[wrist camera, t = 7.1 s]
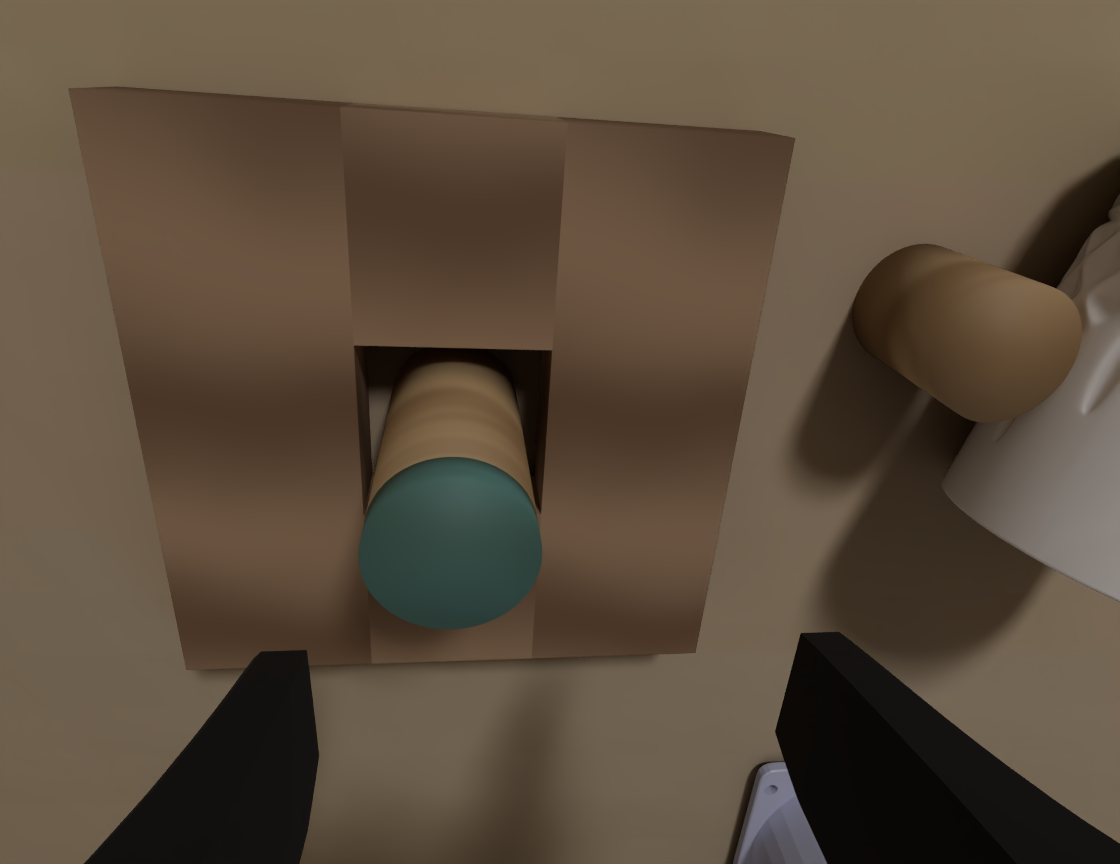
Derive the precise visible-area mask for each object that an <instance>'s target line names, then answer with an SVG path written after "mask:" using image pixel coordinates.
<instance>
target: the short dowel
mask: <svg viewBox="0 0 1120 864" xmlns="http://www.w3.org/2000/svg"><path fill="white" fill-rule="evenodd" d="M852 319H853V327H854V332H855V334H856V337H857V339H858V341H859V342H860V344H861V345H862V346H863V348H864V349H865V350H866V351H868V352H869V353H870V354H872V355H873V356H874V357H876V358H877V359H879V360H880V361H882V362H883V363H885V364H886V365H888V366H889V367H890V368H892V369H893V370H895V371H896V372H898V373H899V374H901V375H902V376H904V377H905V378H906V379H908V380H909V381H911V382H912V383H914V384H915V385H917V386H918V387H920V388H921V389H922V390H924V391H925V392H927V393H928V394H930V395H931V396H933V397H934V398H936V399H937V400H938V401H940V402H941V403H943V404H944V405H946V406H947V407H949V408H950V409H952V410H953V411H954V412H956V413H957V414H959V415H961V416H962V417H964V418H966V419H969V420H971V421H976V422H982V423H995V422H1001V421H1006V420H1009V419H1013V418H1016V417H1018V416H1020V415H1023V414H1025V413H1027V412H1028V411H1030V410H1032V409H1034V408H1035V407H1037V406H1038V405H1040V404H1041V403H1042V402H1043V401H1045V400H1046V399H1047V398H1048V397H1049V396H1050V395H1051V394H1052V393H1054V392H1055V391H1056V389H1057V388H1058V387H1059V386H1060V385H1061V384H1062V382H1063V381H1064V379H1065V378H1066V377H1067V375H1068V374H1069V372H1070V370H1071V369H1072V367H1073V365H1074V362H1075V360H1076V358H1077V355H1078V352H1079V349H1080V344H1081V339H1082V323H1081V319H1080V314H1079V312H1078V310H1077V307H1076V306H1075V304H1074V303H1073V301H1072V300H1071V299H1070V298H1069V297H1068V296H1067V295H1066V294H1065V293H1063V292H1062V291H1060V290H1058V289H1056V288H1054V287H1051V286H1048V285H1046V284H1043V283H1040V282H1037V281H1035V280H1032V279H1029V278H1026V277H1024V276H1021V275H1018V274H1015V273H1013V272H1010V271H1007V270H1004V269H1002V268H999V267H996V266H993V265H991V264H988V263H985V262H982V261H980V260H977V259H974V258H971V257H968V256H966V255H963V254H960V253H957V252H955V251H952V250H949V249H946V248H944V247H941V246H937V245H932V244H918V245H912V246H908V247H905V248H902V249H900V250H898V251H896V252H894V253H892V254H890V255H889V256H887V257H886V258H885V259H883V260H882V261H881V262H880V263H878V264H877V265H876V266H875V267H874V268H873V269H872V271H871V272H870V273H869V274H868V275H867V277H866V278H865V280H864V281H863V283H862V285H861V286H860V288H859V291H858V293H857V295H856V299H855V302H854V307H853V316H852Z"/></svg>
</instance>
